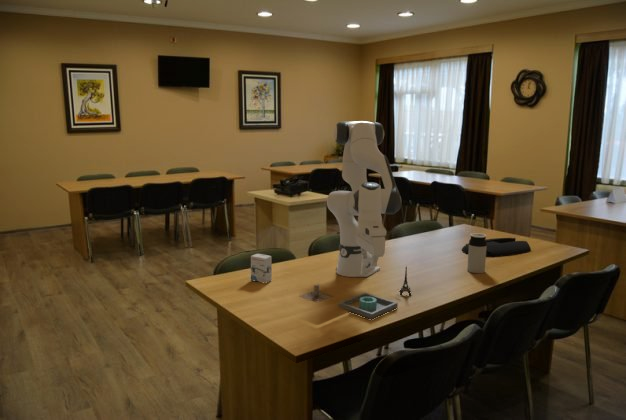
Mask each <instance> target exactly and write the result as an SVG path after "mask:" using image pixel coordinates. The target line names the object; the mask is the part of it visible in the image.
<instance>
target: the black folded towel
mask: <svg viewBox="0 0 626 420" xmlns="http://www.w3.org/2000/svg"><path fill="white" fill-rule="evenodd" d="M516 239H517V238H516V237H496V238H488V239H485V240H486V242H487V246H486V258H488V257H492V258H499V257H509V256H510V257H511V256H515V255H522V254H526V253H529V252H531V246H530V244H529V243H528V241H526V240H516ZM461 252H463V253H464V254H466V255H468V252H469V242H468V243H465V245H464V246H462V248H461Z"/></svg>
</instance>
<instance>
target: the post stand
mask: <svg viewBox="0 0 626 420" xmlns="http://www.w3.org/2000/svg"><path fill="white" fill-rule="evenodd" d="M299 297H301V298H303V299H306V300H308V301H312V302H314V303H319V302H322V301H324V300H325V301H326V300H327V299H330V298H332V297H334V295H332V294H330V293H327V292H324V291H320V284H314V285H313V290H312V291H310V292H307V293H304V294H301V295H299Z"/></svg>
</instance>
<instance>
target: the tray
mask: <svg viewBox="0 0 626 420" xmlns="http://www.w3.org/2000/svg"><path fill="white" fill-rule="evenodd" d="M362 297H373V298H376V299H377V307H376V309H374V310H364V309H361V308H360V307H359V306H358V307H355V306H354V305H350V304H352V303H355V302H357V301H358V302H359V300H360V298H362ZM398 305H399V304H398V302H396V301H394V300H391V299H387V298H384V297H380V296H378V295H374V294H371V293H368V292H362V293H360V294H358V295H354V296H352V297H349V298H347V299H344V300H343V301H341V302H338V307H339V308H341V309H344V310H348V313H349V312H351V313H354V314H357V315H360V316H362V317H365V318H368V319H371V320H372V319H374V318H376V317H378V316H381V315H383V314H385V313H387V312H390V311H392V310H394V309H396V308H397V309H398ZM397 309H396V310H397ZM394 311H395V310H394ZM392 312H393V311H392ZM351 313H350V314H351ZM390 313H391V312H390ZM354 314H353V315H354ZM387 314H388V313H387ZM357 315H356V316H357ZM385 315H386V314H385ZM360 316H359V317H360ZM383 316H384V315H383ZM362 317H361V318H362ZM381 317H382V316H381ZM365 318H364V319H365ZM368 319H367V320H368ZM371 320H370V321H371ZM374 320H375V319H374ZM372 321H373V320H372Z"/></svg>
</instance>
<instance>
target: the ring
mask: <svg viewBox="0 0 626 420" xmlns="http://www.w3.org/2000/svg"><path fill="white" fill-rule="evenodd" d="M358 302H359V306H358V308H359V307H360V308H361V309H364V310H374V309H376V307H377V299H376V298H373V297H362V298H360V300H358Z"/></svg>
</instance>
